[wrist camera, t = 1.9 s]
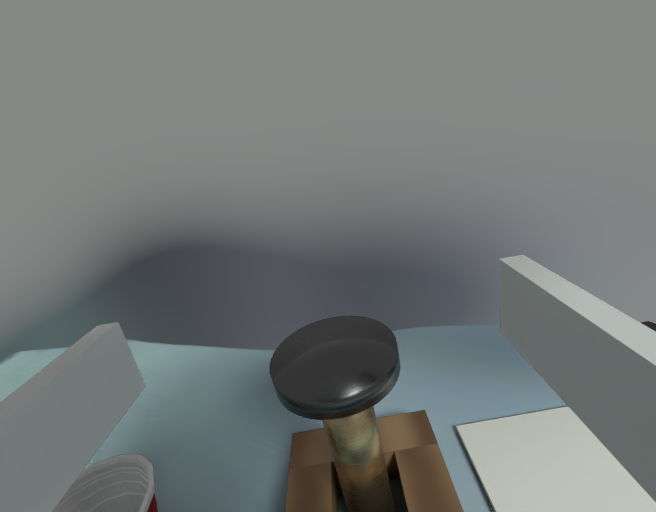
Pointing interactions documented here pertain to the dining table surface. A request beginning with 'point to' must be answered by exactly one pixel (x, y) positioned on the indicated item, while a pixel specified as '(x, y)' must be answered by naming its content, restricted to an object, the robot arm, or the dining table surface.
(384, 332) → the mushroom top post
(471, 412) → the dining table surface
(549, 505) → the pad
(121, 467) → the plastic cup
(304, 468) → the eye block
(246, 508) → the dining table surface
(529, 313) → the robot arm
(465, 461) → the dining table surface
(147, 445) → the dining table surface
